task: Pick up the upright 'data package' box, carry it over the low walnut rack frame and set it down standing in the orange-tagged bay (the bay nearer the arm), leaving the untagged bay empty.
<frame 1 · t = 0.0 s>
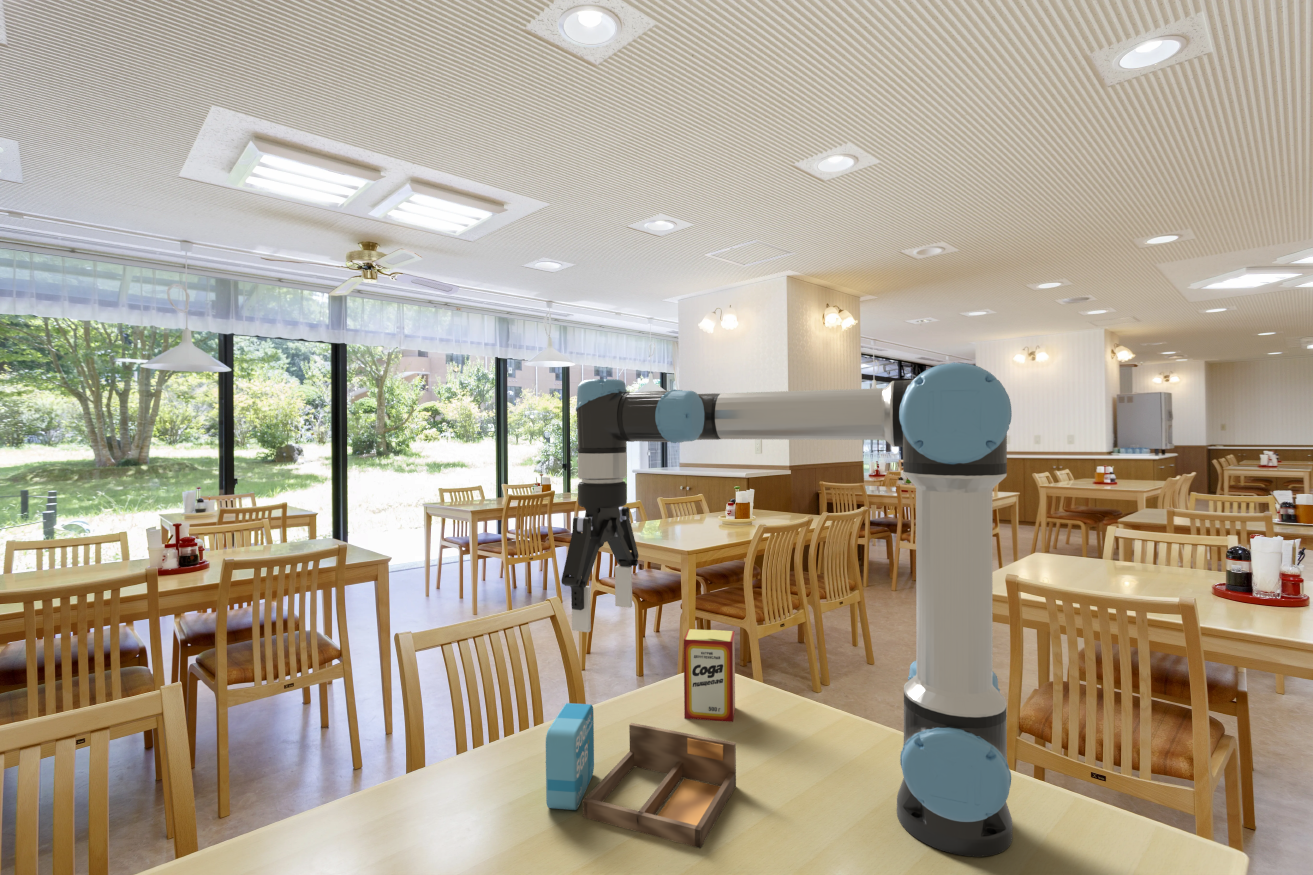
hand: (603, 617, 102), 28 cm above the table, fingers open, 13 cm apart
rack: (662, 800, 101), on the table
baking soda box: (710, 713, 132), on the table
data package: (571, 792, 104), on the table
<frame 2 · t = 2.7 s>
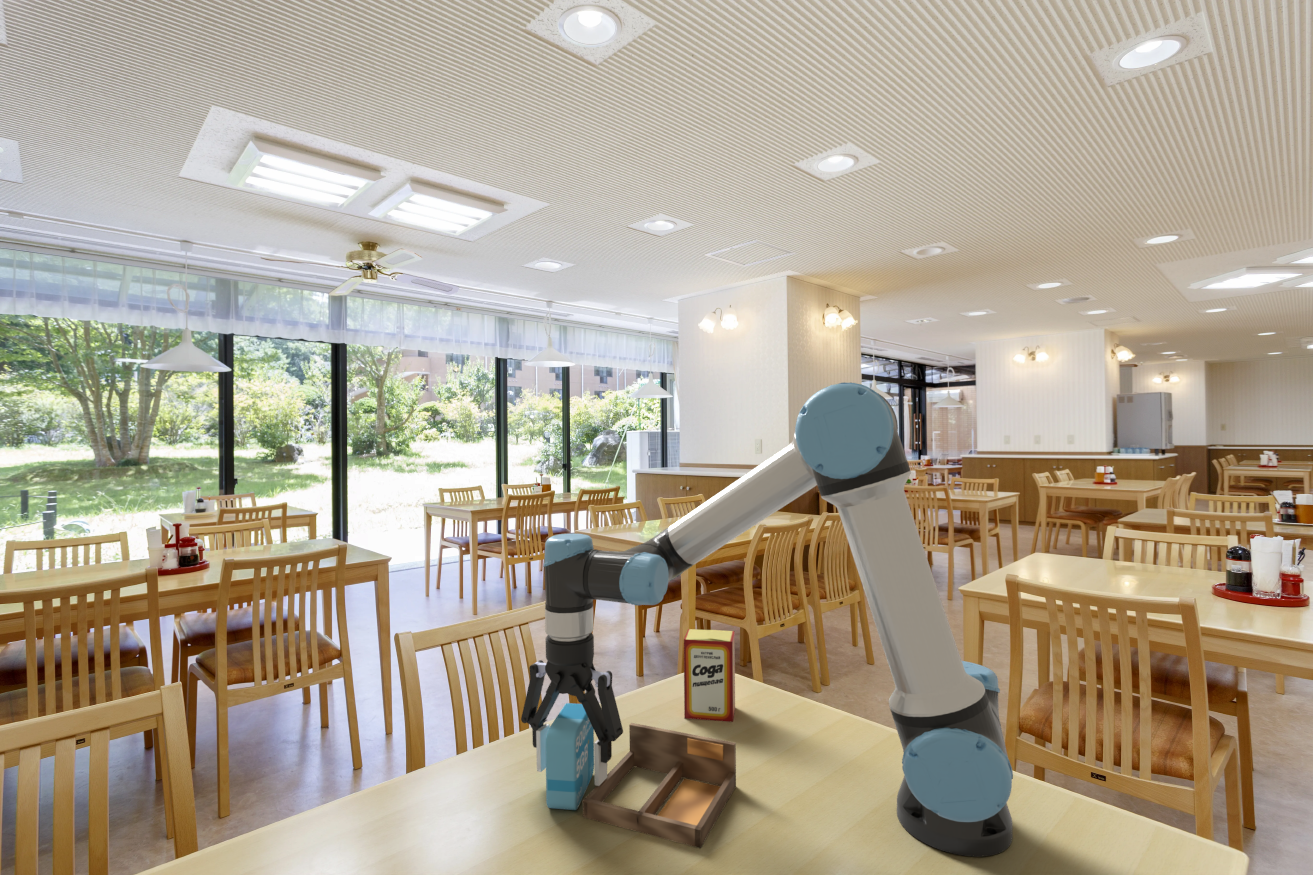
hand: (571, 773, 104), 3 cm above the table, fingers open, 10 cm apart
nothing on the table moved.
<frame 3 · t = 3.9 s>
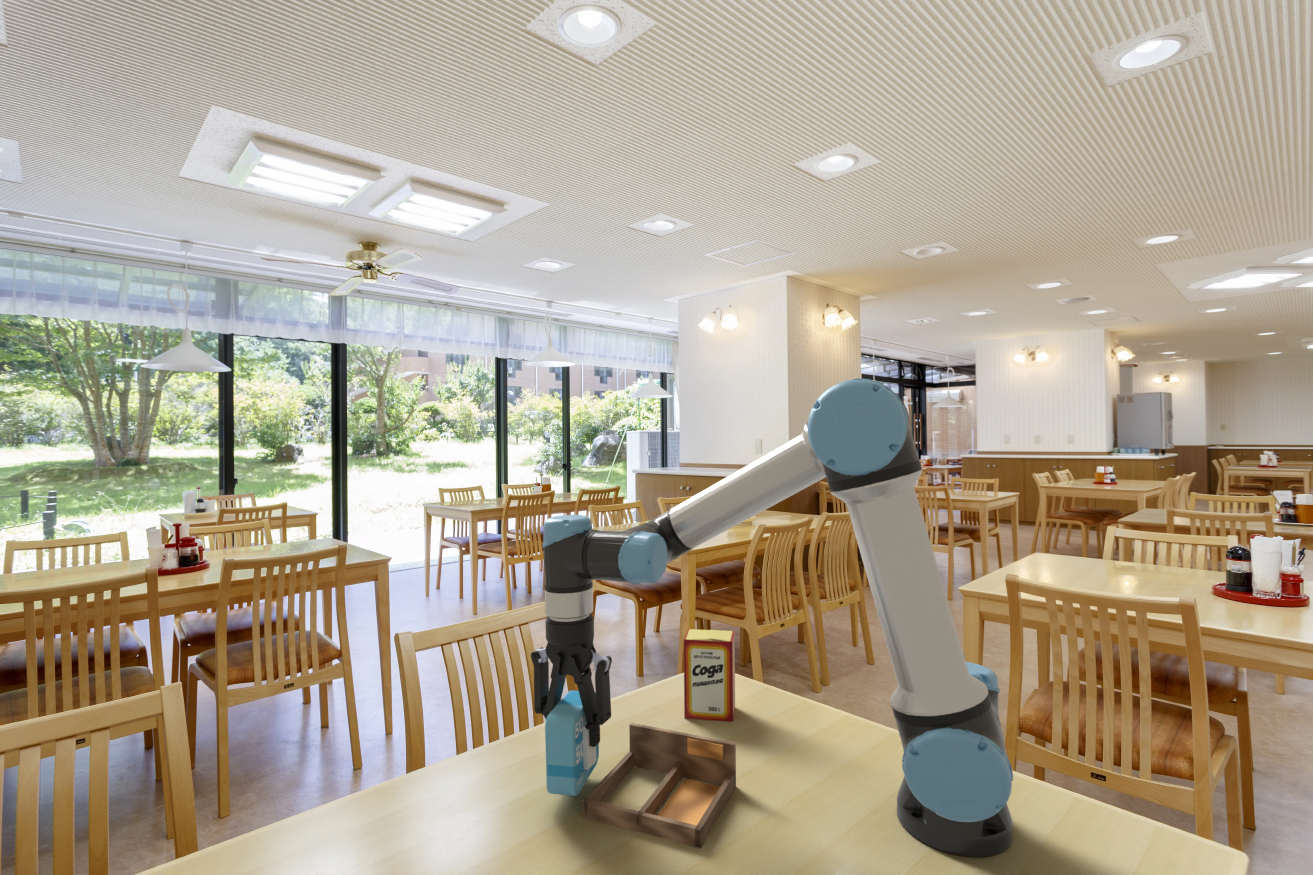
hand: (573, 761, 104), 5 cm above the table, fingers closed on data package, 5 cm apart
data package: (574, 779, 104), point 2 cm above the table, touching gripper
everything else where it was.
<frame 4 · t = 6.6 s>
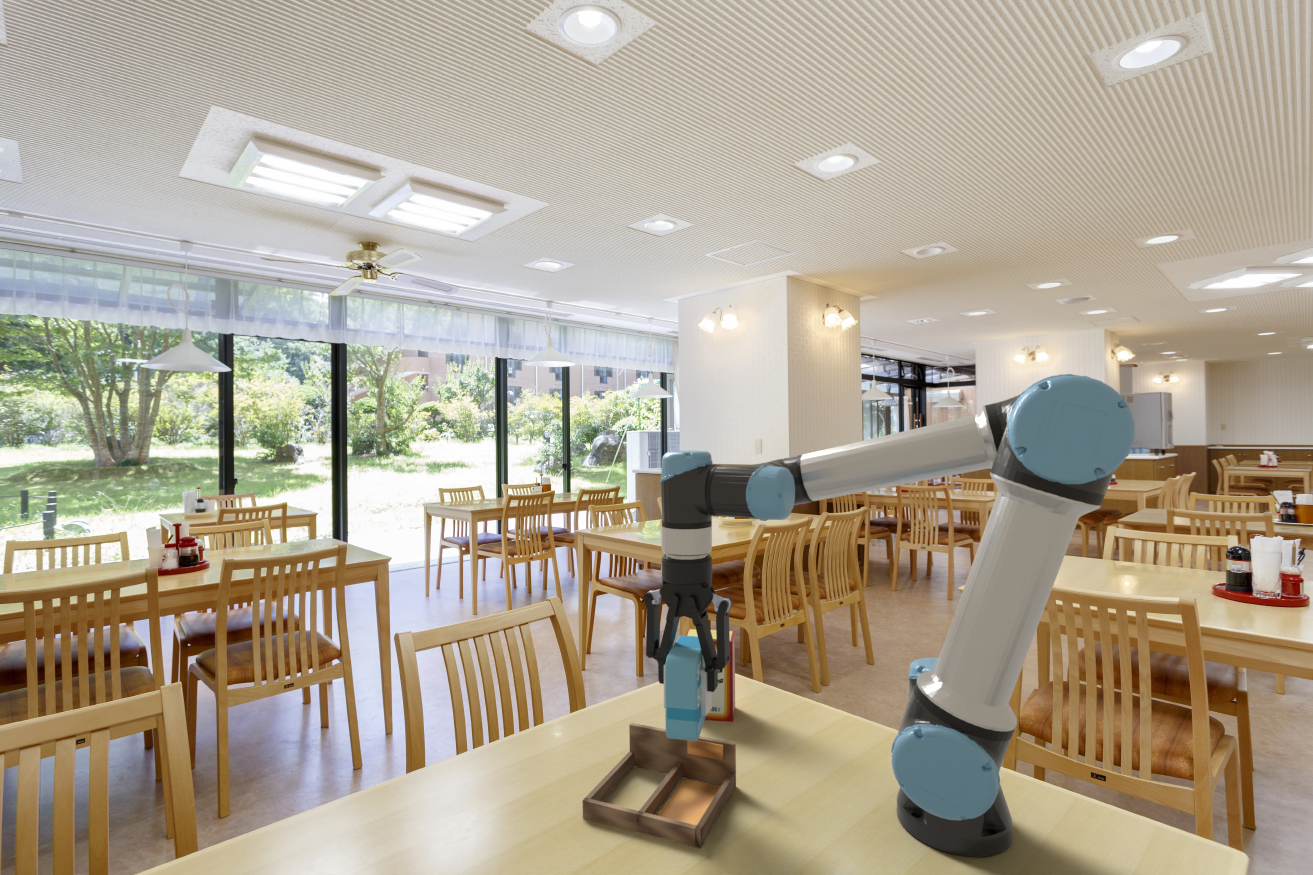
hand: (687, 707, 99), 15 cm above the table, fingers closed on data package, 5 cm apart
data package: (688, 726, 99), point 12 cm above the table, touching gripper
everything else where it was.
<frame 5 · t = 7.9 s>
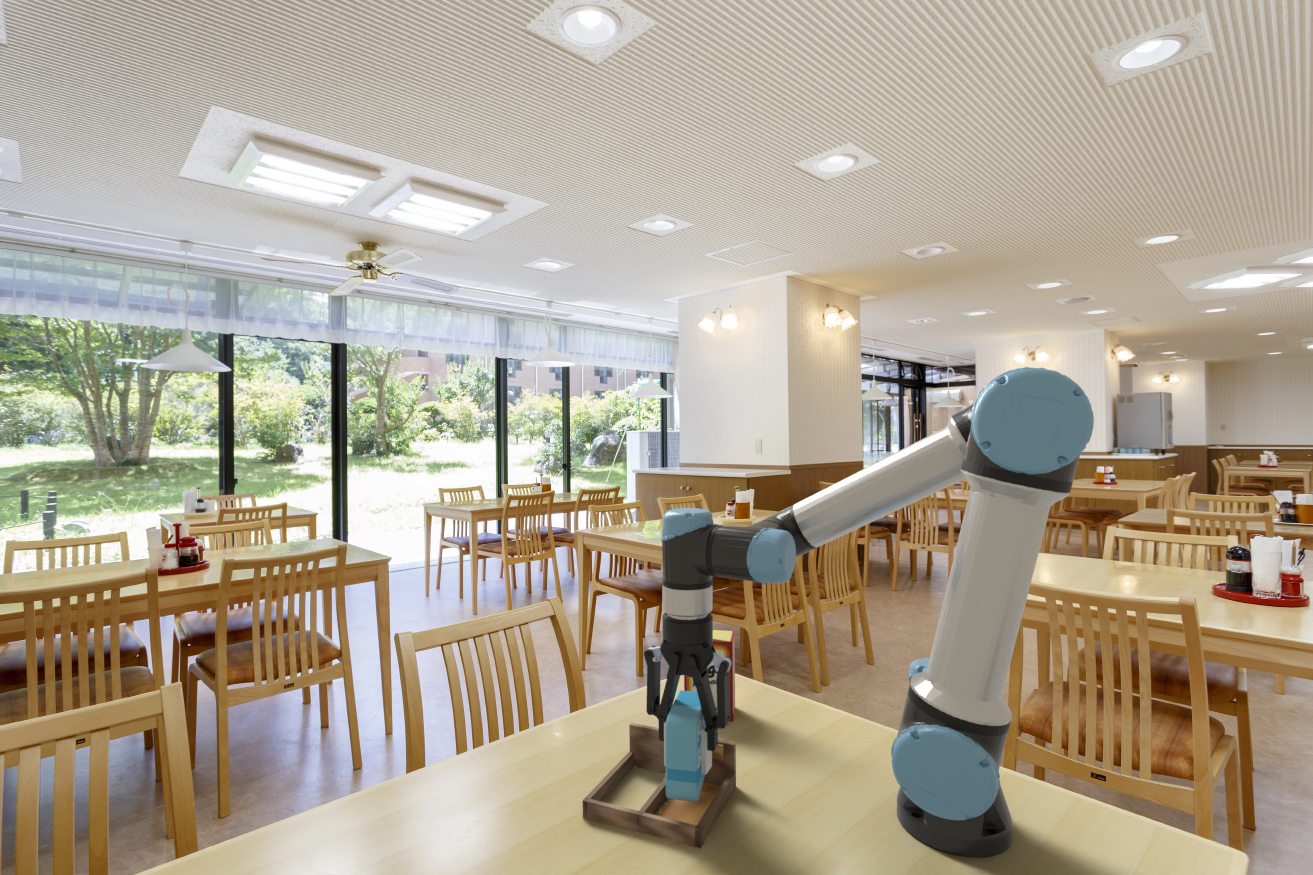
hand: (688, 765, 99), 6 cm above the table, fingers closed on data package, 5 cm apart
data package: (688, 783, 99), point 3 cm above the table, touching gripper
everything else where it was.
when the fingers open (4 cm above the table, at t = 9.2 s): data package stays where it is, resting on rack.
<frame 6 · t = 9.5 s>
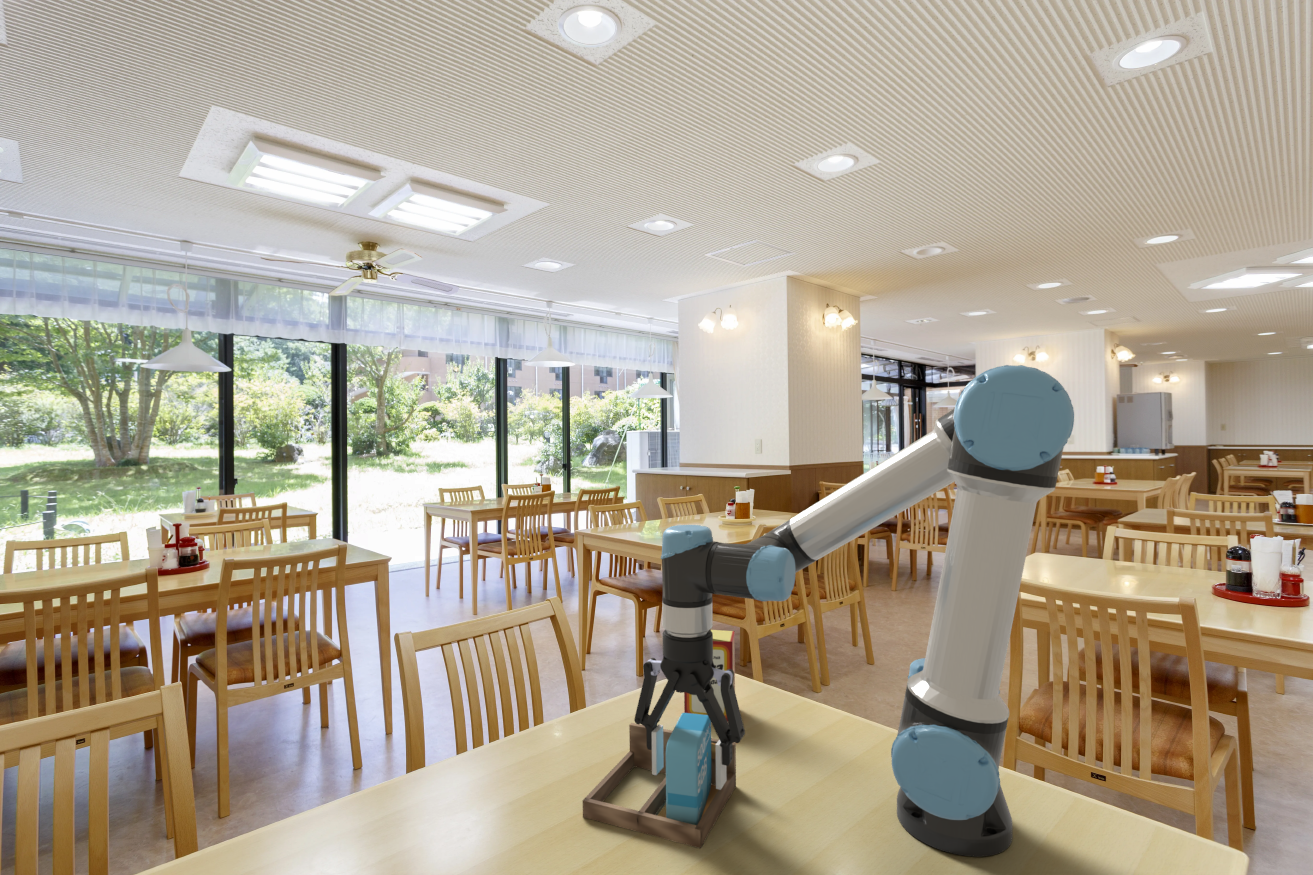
hand: (688, 777, 99), 5 cm above the table, fingers open, 9 cm apart
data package: (690, 807, 99), resting on rack
everything else where it was.
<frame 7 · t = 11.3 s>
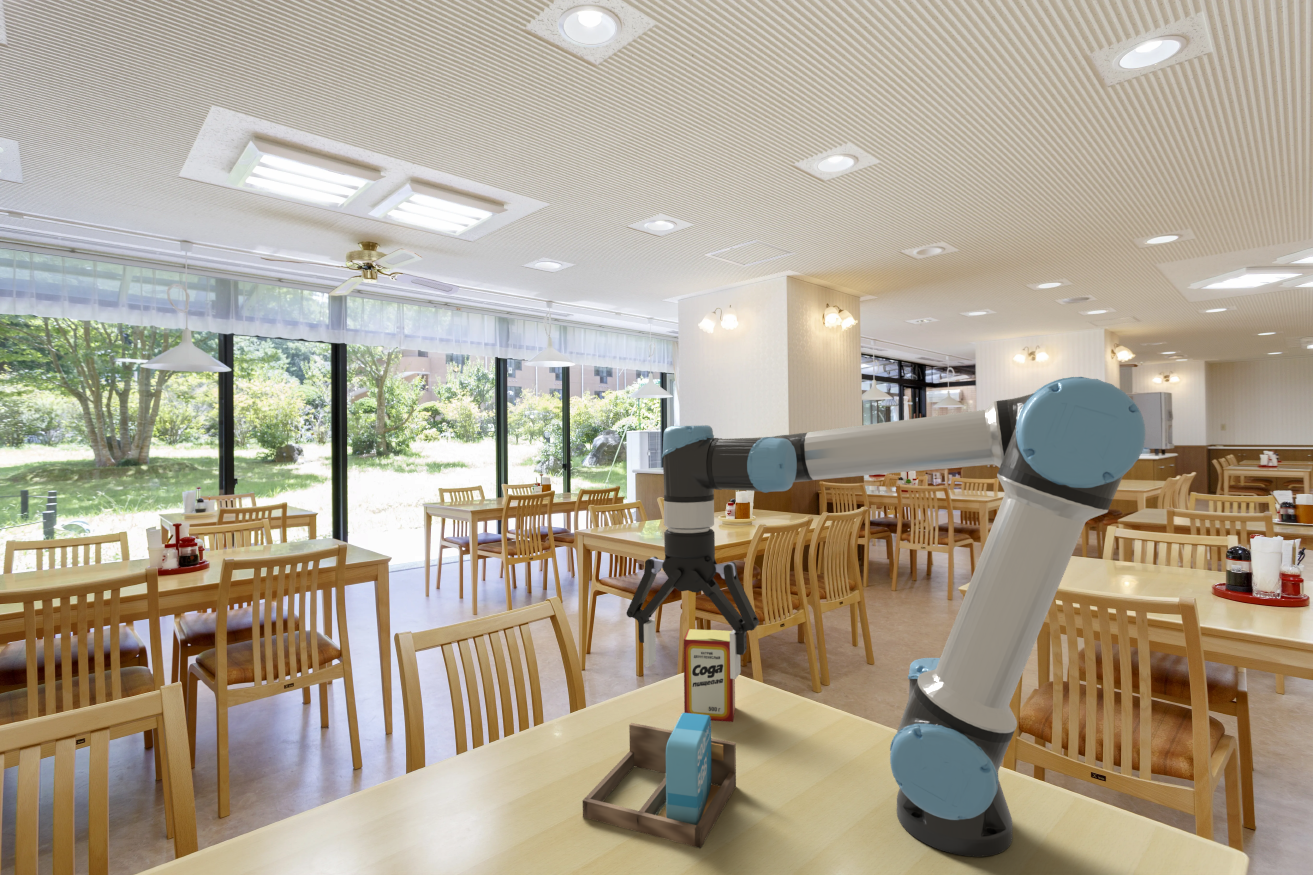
hand: (691, 669, 99), 21 cm above the table, fingers open, 13 cm apart
nothing on the table moved.
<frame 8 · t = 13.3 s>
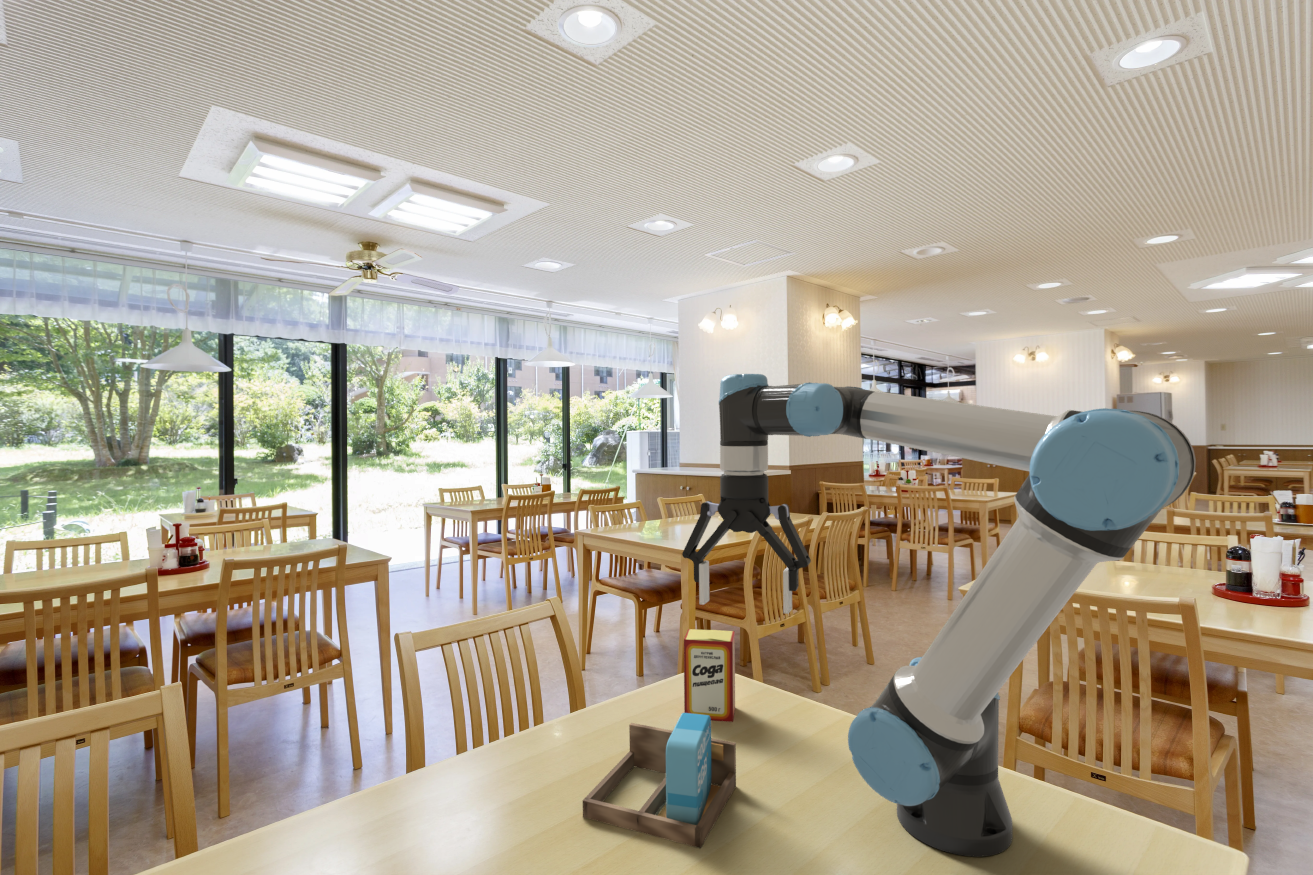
hand: (745, 606, 104), 29 cm above the table, fingers open, 13 cm apart
nothing on the table moved.
at the end: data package inside the target area on the rack (0.1 cm from its centre), point 0.0 cm above the rack's base; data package tilted 0°; the gripper is holding nothing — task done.
